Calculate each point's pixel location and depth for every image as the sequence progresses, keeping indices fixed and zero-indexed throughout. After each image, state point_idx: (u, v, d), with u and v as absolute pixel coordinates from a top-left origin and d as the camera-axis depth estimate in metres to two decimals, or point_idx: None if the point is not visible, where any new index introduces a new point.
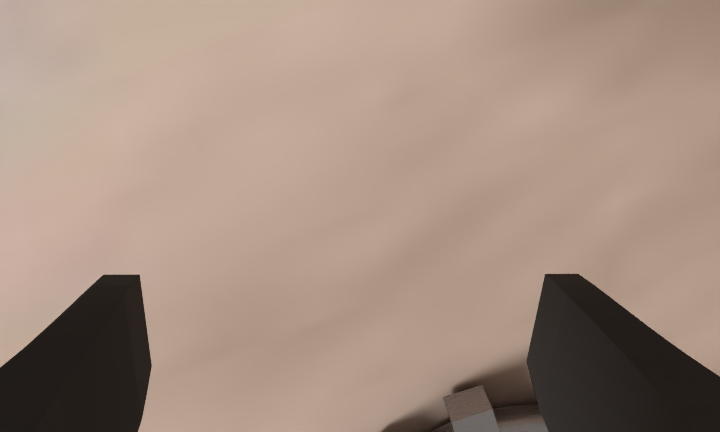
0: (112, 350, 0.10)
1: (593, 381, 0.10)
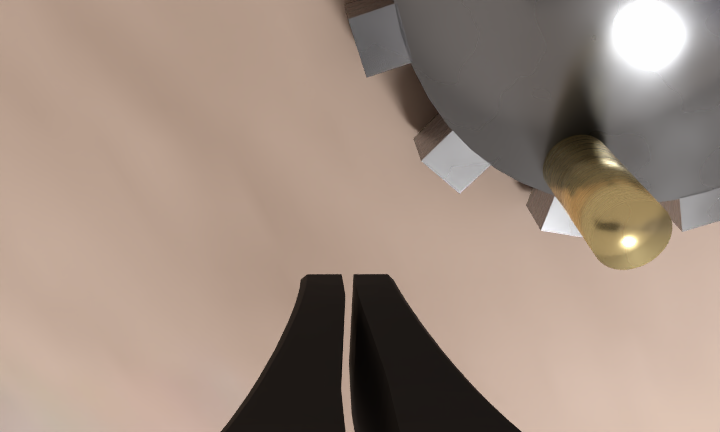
0: (342, 348, 0.10)
1: (370, 384, 0.10)
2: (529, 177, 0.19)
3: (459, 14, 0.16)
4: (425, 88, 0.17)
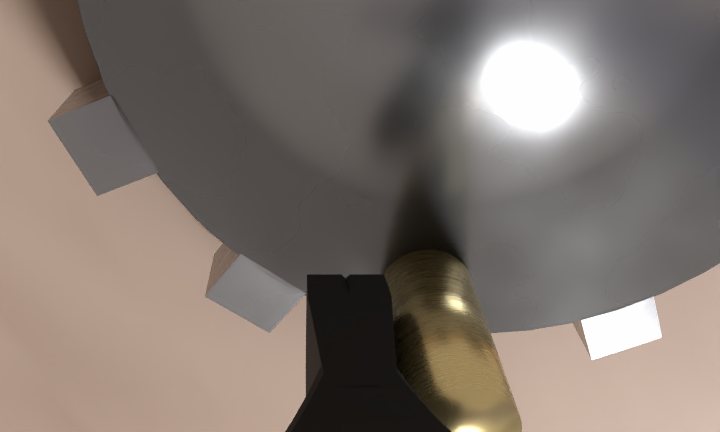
0: None
1: None
2: None
3: (210, 103, 0.11)
4: (185, 204, 0.12)
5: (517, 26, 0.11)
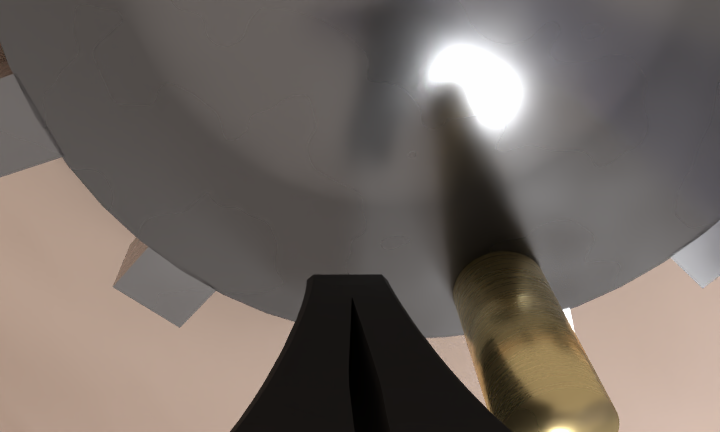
0: None
1: (362, 384, 0.10)
2: (450, 327, 0.14)
3: (229, 218, 0.12)
4: (252, 305, 0.13)
5: (460, 31, 0.11)
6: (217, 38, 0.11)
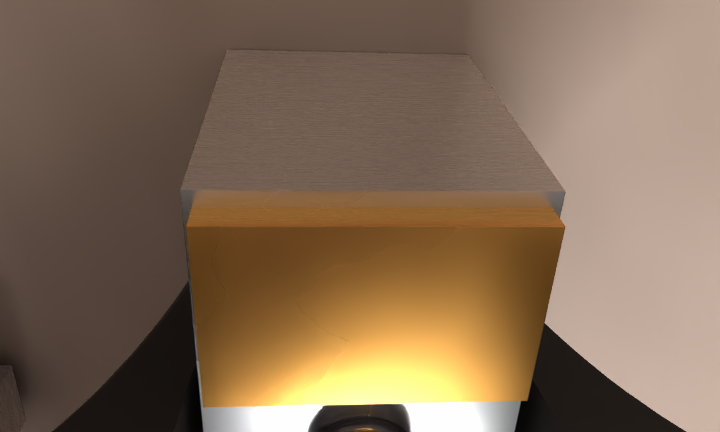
0: None
1: None
2: None
3: None
4: None
5: None
6: None
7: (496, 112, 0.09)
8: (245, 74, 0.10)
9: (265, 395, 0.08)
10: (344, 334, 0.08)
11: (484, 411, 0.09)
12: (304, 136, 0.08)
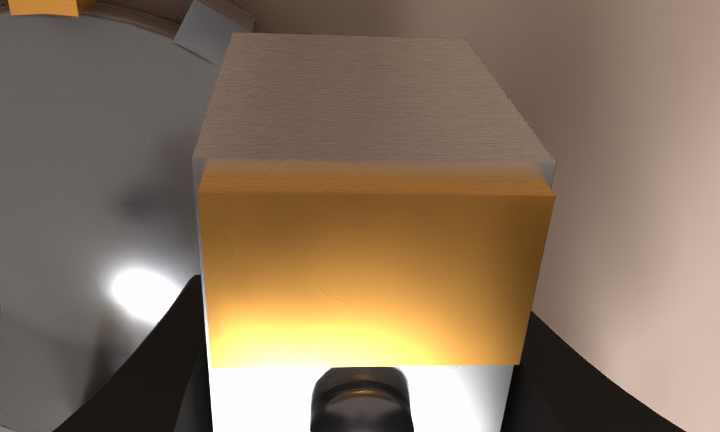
0: None
1: None
2: None
3: None
4: None
5: (93, 292, 0.20)
6: None
7: (492, 91, 0.10)
8: (251, 55, 0.11)
9: (270, 356, 0.08)
10: (346, 298, 0.08)
11: (478, 376, 0.09)
12: (308, 111, 0.09)
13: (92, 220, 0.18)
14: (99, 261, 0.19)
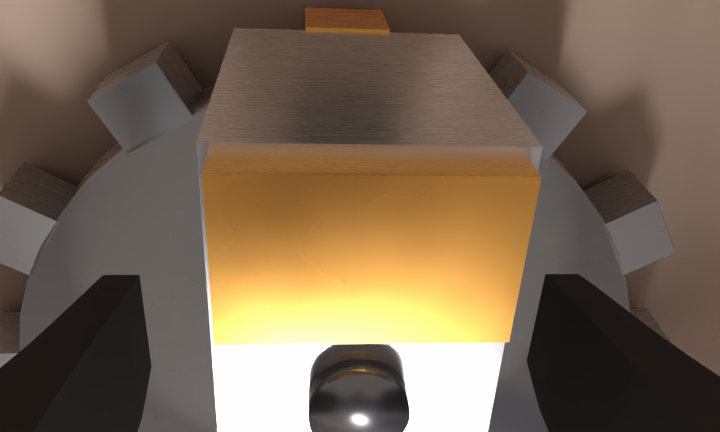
0: (112, 350, 0.10)
1: (593, 381, 0.10)
2: None
3: None
4: None
5: None
6: (170, 367, 0.16)
7: (483, 83, 0.10)
8: (251, 49, 0.11)
9: (270, 334, 0.09)
10: (342, 276, 0.08)
11: (470, 355, 0.10)
12: (306, 100, 0.09)
13: None
14: None
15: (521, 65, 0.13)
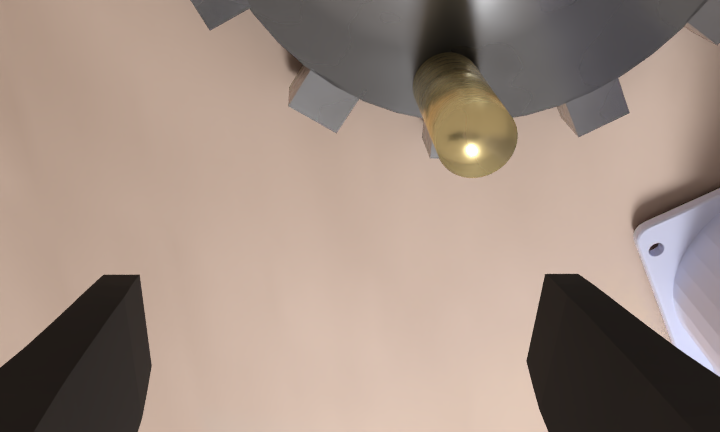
0: (112, 350, 0.10)
1: (593, 381, 0.10)
2: (402, 105, 0.19)
3: None
4: (271, 31, 0.17)
5: None
6: None
7: None
8: None
9: None
10: None
11: None
12: None
13: None
14: None
15: None
